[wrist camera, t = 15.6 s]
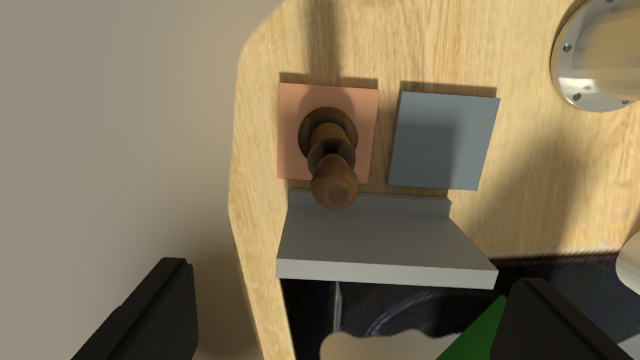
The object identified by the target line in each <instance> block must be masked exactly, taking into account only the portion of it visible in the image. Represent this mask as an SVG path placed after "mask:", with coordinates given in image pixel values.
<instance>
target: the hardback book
mask: <svg viewBox="0 0 640 360" xmlns="http://www.w3.org/2000/svg"><path fill="white" fill-rule="evenodd" d="M506 301H507V298H506V297H504V296H503V295H500V296H499V297H498V298H497V299H496V300H495V301H494V302H493V303H492V304H491V305H490V306H489V307H488V308H487V309H486V310H485V311H484V312H483V313H482V314H481V315H480V316H479V317H478V318H477V319H476V320H475V321H474V322H473V323H472V324H471V325H470V326H469V327H468V328H467V329H466V330H465V331H464V332H463V333H462V334H461V335H460V336H459V337H458V338H457V339H456V340H455V341H454V342H453V343H452V344H451V345H450V346H449V347H448V348H447V349H446V350H445V351H444V352H443V353H442V354H441V355H440V356H439V357H438V358H437V359H436V360H490V349H491V346H492V343H493V340H494V337H495V334H496V331H497V328H498V325H499V322H500V319H501V316H502V313H503V310H504V307H505V304H506Z"/></svg>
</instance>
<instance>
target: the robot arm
mask: <svg viewBox="0 0 640 360" xmlns="http://www.w3.org/2000/svg"><path fill="white" fill-rule="evenodd" d="M551 77H552V81H553V85H554V87H555V89H556V91H557V93H558V95H559V96H560V97H561V98H562V100H563V101H564V102H566V103H567V104H569V105H570V106H571V107H574V108H576V109H579V110H583V111H588V112H599V113H602V112H610V111H614V110H618V109H621V108H624V107H626V106H628V105H630V104H632V103H634V102H636V101H640V0H588V1H586V2H585V3H584V4H582V5H581V6H580V7H579V8H578V9H577V10H576V11H575V12H574V13H573V14H572V15H571V17H570V18H569V19H568V21H567V22H566V24H565V25H564V26H563V28H562V30H561V32H560V34H559V36H558V38H557V40H556V43H555V46H554V49H553V52H552V58H551ZM198 339H199V334H198V322H197V310H196V299H195V287H194V275H193V266H192V265H191V264H187V261H186V259H185V258H172V257H164V258H162V259H161V260H160V261H159V262H158V263H157V264H156V266H155V267H154V268H153V269H152V270H151V271H150V273H149V274H148V275H147V276H146V277H145V278H144V279H143V281H142V282H141V283H140V284H139V285H138V286H137V288H136V289H135V290H134V291H133V292H132V293H131V294H130V295H129V297H128V298H127V299H126V300H125V302H123V304H122V305H121V306H119V307H118V308H116V309H115V310H114V311H113V312H112V313H111V314H110V315H109V317H108V318H107V319H106V320H105V321H104V322H103V323H102V325H101V326H100V327H99V328H98V329H97V330H96V331H95V333H94V334H93V335H92V336H91V337H90V338H89V339H88V340H87V342H86V343H85V344H84V345H83V346H82V347H81V348H80V350H79V351H78V352H77V353H76V354H75V355H74V357H73V358H72V359H71V360H191V359H192V357H193V355H194V353H195V351H196V348H197V345H198ZM490 360H634V359H632V358H631V357H630V356H629V355H628V354H627V353H626V352H625V351H624V350H623V349H621V348H620V347H619V346H618V345H617V344H616V343H615V342H614V341H613V340H611V339H610V338H609V337H608V336H607V335H606V334H605V333H604V332H603V331H601V330H600V329H599V328H598V327H597V326H596V325H595V324H594V323H593V322H592V321H590V320H589V319H588V318H587V317H586V316H585V315H584V314H583V313H582V312H580V311H579V310H578V309H577V308H576V307H575V306H574V305H573V304H572V303H570V302H569V301H568V300H567V299H566V298H565V297H564V296H563V295H562V294H561V293H559V292H558V291H557V290H556V289H555V288H554V287H553V286H552V285H551V284H549V283H548V282H547V281H546V280H544V279H539V278H520V279H518V280H517V282H516V283H514V284H512V286H511V289H510V292H509V295H508V298H507V301H506V304H505V307H504V310H503V313H502V316H501V319H500V322H499V325H498V328H497V331H496V334H495V337H494V340H493V343H492V346H491V349H490Z"/></svg>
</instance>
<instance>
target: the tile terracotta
mask: <svg viewBox="0 0 640 360" xmlns="http://www.w3.org/2000/svg"><path fill="white" fill-rule="evenodd" d="M379 92H380V90H379V89H365V88H351V87H337V86H323V85H309V84H294V83H279V122H278V168H277V178H281V179H297V180H312V177H313V176H312V175H311V173H310V171H309V169H308V165H307V159H306V158H305V157H304V155H303V154H302V152H301V150H300V148H299V144H298V131H299V127H300V124H301V122H302V120H303V119H304V118H305V116H306V115H307V114H308V113H310V112H311V111H313V110H315V109H317V108H320V107H334V108H337V109H339V110H341V111H343V112H344V113H346V114H347V115H348V116H349V117H350V118H351V120H352V121H353V123H354V124H355V126H356V129H357V132H358V144H357V148H356V150H355V154H356V164H355V168H354V170H353V171H354V172H355V174H356V176H357V178H358V181H359V183H361V184H368V178H369V170H370V163H371V155H372V147H373V139H374V131H375V123H376V115H377V107H378V100H379Z"/></svg>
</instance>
